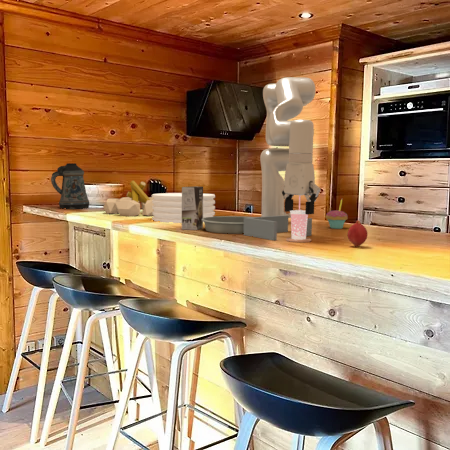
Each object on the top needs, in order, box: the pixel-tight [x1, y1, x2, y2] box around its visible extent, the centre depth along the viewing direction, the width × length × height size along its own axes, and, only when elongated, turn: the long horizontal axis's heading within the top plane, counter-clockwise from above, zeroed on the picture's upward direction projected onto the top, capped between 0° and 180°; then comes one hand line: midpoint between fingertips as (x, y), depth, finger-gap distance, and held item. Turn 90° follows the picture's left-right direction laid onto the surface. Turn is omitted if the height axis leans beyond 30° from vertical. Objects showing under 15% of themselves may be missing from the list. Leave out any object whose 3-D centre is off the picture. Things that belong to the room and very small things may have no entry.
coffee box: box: [181, 186, 204, 231], centre depth 197 cm, size 9×6×16 cm
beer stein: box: [50, 162, 90, 210], centre depth 287 cm, size 16×19×25 cm
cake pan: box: [202, 215, 250, 235], centre depth 194 cm, size 25×25×4 cm
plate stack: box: [151, 192, 216, 224], centre depth 231 cm, size 28×28×12 cm
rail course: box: [243, 215, 313, 241], centre depth 179 cm, size 20×16×6 cm
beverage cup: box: [289, 195, 309, 240], centre depth 166 cm, size 6×6×14 cm
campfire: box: [102, 179, 154, 217], centre depth 260 cm, size 35×34×17 cm
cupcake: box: [325, 199, 349, 230], centre depth 204 cm, size 9×8×12 cm
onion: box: [347, 220, 368, 248], centre depth 155 cm, size 6×6×8 cm
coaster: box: [285, 236, 312, 243], centre depth 167 cm, size 8×8×1 cm
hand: (298, 212), depth 167 cm, fingers open, 9 cm apart
